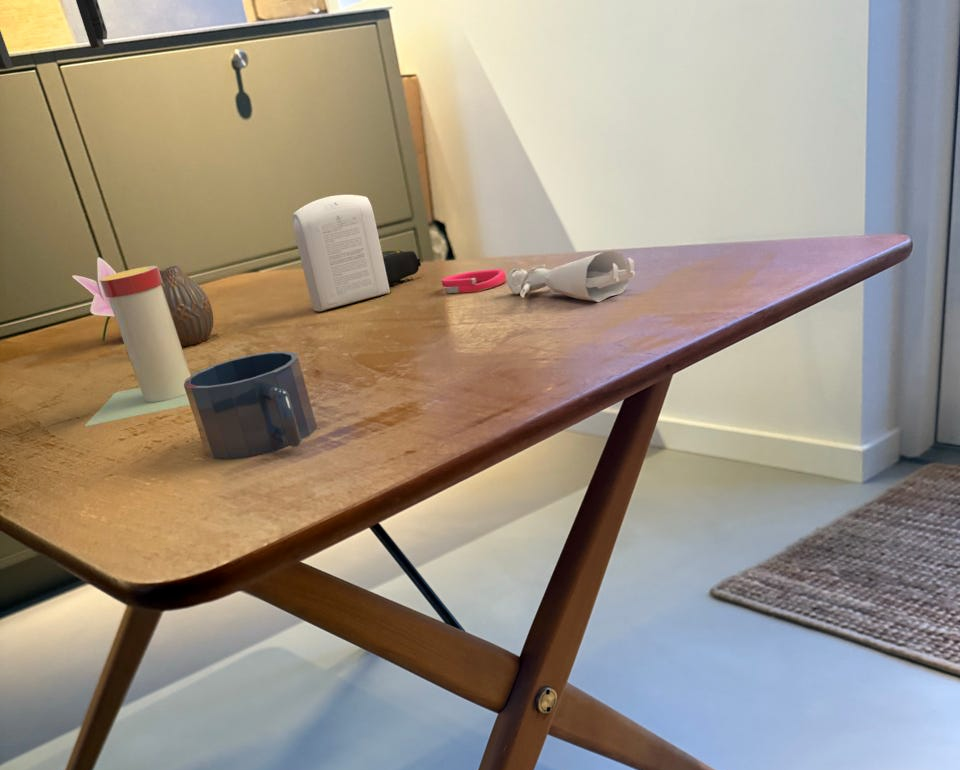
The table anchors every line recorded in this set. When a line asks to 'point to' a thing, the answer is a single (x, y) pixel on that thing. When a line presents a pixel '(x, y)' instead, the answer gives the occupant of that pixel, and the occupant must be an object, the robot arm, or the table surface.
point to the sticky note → (132, 406)
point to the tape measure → (400, 265)
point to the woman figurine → (578, 277)
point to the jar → (148, 332)
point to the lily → (99, 292)
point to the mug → (251, 405)
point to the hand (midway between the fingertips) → (51, 58)
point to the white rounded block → (340, 251)
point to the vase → (187, 306)
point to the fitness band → (473, 280)
